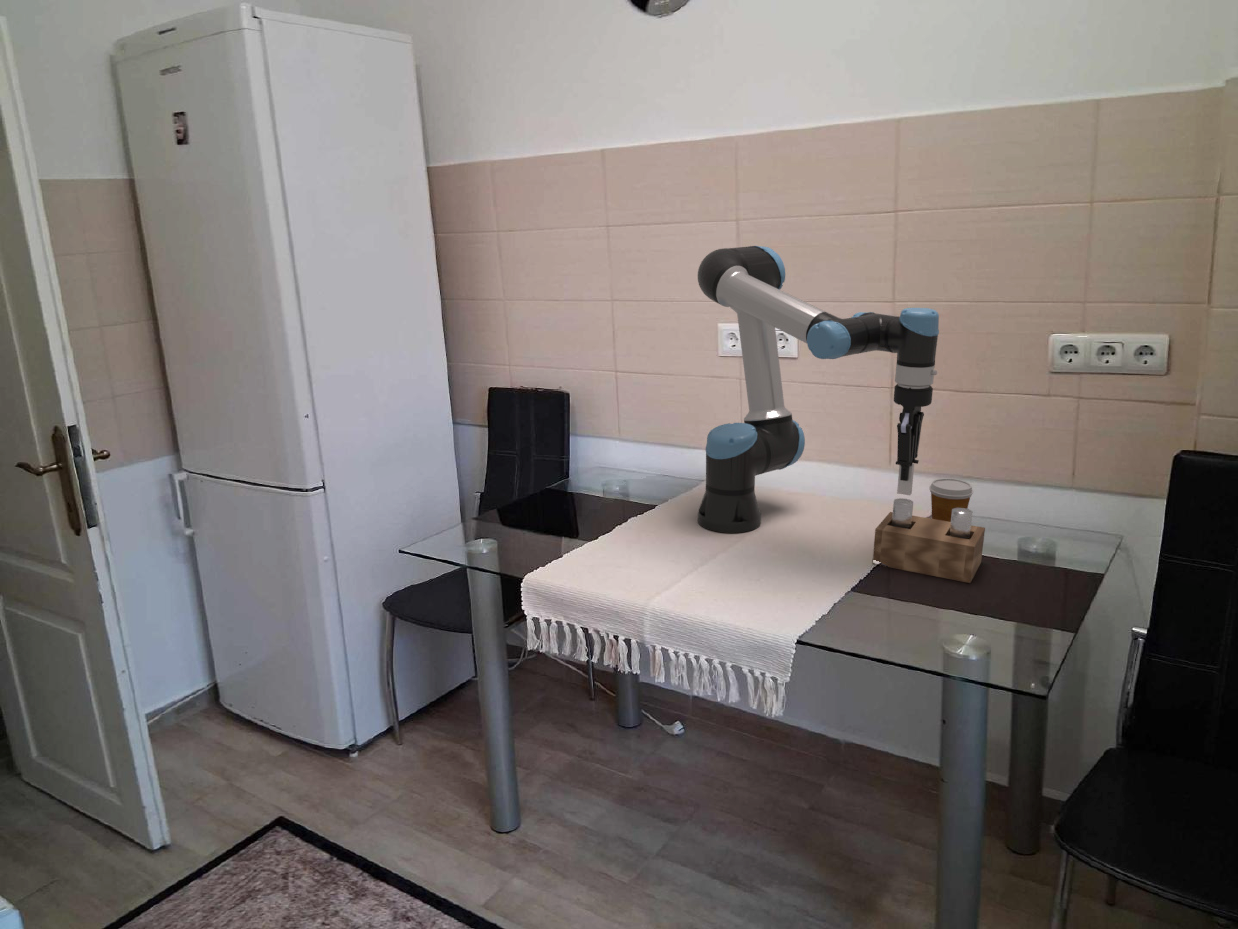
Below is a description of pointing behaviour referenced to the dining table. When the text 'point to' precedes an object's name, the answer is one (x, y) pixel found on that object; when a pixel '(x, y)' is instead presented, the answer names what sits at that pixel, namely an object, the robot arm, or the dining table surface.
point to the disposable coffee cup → (949, 497)
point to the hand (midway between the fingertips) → (904, 493)
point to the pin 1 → (902, 513)
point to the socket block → (929, 548)
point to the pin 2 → (961, 523)
